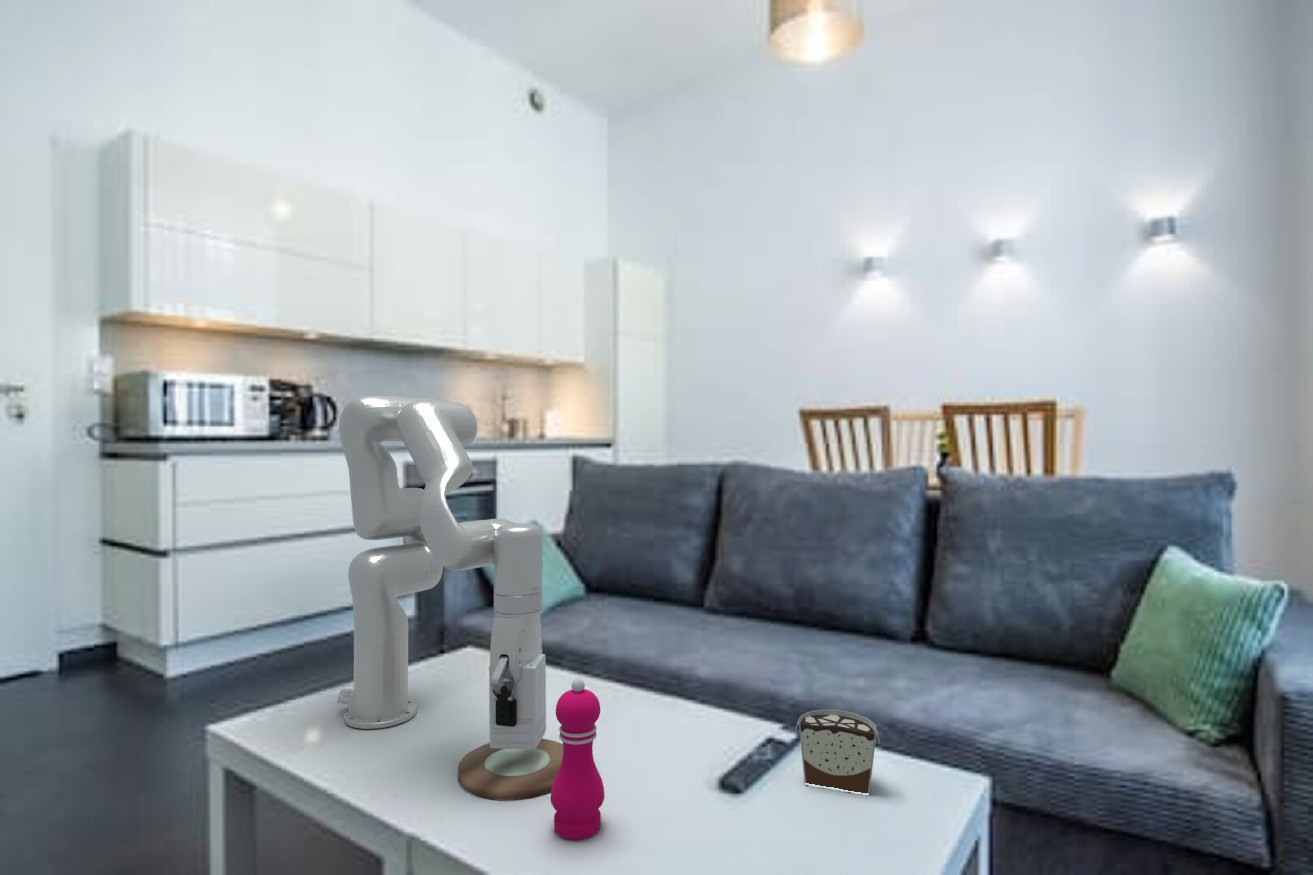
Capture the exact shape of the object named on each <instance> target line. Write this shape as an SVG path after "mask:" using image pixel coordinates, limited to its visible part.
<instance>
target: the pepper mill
mask: <svg viewBox="0 0 1313 875" xmlns="http://www.w3.org/2000/svg"><path fill="white" fill-rule="evenodd" d="M585 686H586V684H585V681H584V680H583V679H581V678H579V677H578V678H575V679H574V680H573V681H572V682H571V689H569V690H567V691H565V692H564V693H562V694H561V696H560V697H559V698H558V700H557V702H556V704H555V717H556V719H557V721H558V723H559V724H560V726H559V728H558V731H559V735H558V738H559V740H560V741H561V742H562V744H563V758H562V762H561V765H560V768H559V770H558V772H557V774H556V777H555V779H554V782H553V785H552V789H551V792H550V803H551V805H552V807H553V809H554V810H555V813H554V815H553V819H554V820H553V830H554V832H555V833H556V835H558V836H559V837H560V838H563V839H566V840H575V841H577V840H584V839H588V838H591V837H593V836H594V835H596V834H597V833H598V832H599V831H600V829H601V823H602V822H601V821H602V820H601V818H602V815H601V814H602V813H601V811H600V808H601V807H602V806H603V803H604V801H605V787H604V782H603V780H602V777H601V773H600V772H599V770H598V767H597V766H596V762H595V760H594V755H593V752H594V751H593V747H594V740H595V739H597V734H598V733H597V730H598V729H597V725H596V722H597V721H598V719H599V718H600V715H601V703H600V700H599V697H598V696H597V695H596V694H595V693H594V692H592V691H591V690H589V689H586V688H585Z"/></svg>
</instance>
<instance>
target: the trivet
mask: <svg viewBox="0 0 1313 875" xmlns="http://www.w3.org/2000/svg"><path fill="white" fill-rule="evenodd" d="M562 758H563V743H561V742H558V741H555V740H551V739H547V738H542V739H541V741H540V742H539V744H538V746H537V747H536V749H535V750H526V749H499V748H490V742H489V743H486V744H483V745H481V746H478V747H476V748H474V749H473V750H470V751H469V752H468V753H467V754H465V755H464V756H463V757H462V758H461V760H460V761H459V764H458V767H457V780H458V784H459V786H460V787H461V788H462V789H463V790H464V791H466V792H467V793H469V794H471V795H473V796H476V797H478V798H483V799H488V800H493V801H494V800H495V801H519V800H525V799H527V800H528V799H533V798H535V797H536V798H537V797H541V796H543V795H546V794H550V793H551V789H552V785H553V782H554V779H555V777H556V774H557V772H558V770H559V768H560V765H561V762H562Z"/></svg>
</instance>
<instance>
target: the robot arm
mask: <svg viewBox="0 0 1313 875" xmlns="http://www.w3.org/2000/svg"><path fill="white" fill-rule="evenodd" d="M477 433H478V421H477V418H476V416H475V414H474V412H473V410H472V409H471V408H469V406H468V405H466V404H464V403H462V402H459V401H458V402H457V401H446V400H440V399H433V398H427V397H425V398H423V397H411V396H397V395H395V396H394V395H382V394H381V395H380V394H378V395H376V394H375V395H362V396H358V397H355V398H353V399H351V400H350V401H348V402H347V403H346V405H345V406H344V407H343V409H342V411H341V414H340V417H339V421H338V434H339V440H340V442H339V443H340V444H341V448H342V452H343V454H344V458H345V461H346V464H347V469H348V476H349V489H350V491H349V492H350V503H351V512H352V514H351V515H352V522H353V527H354V531H355V533H356V535H357V536H358V537H359V538H361V539H363V540H366V541H380V540H383V541H384V540H390V539H399V538H404V540H405V543H403V544H395V545H387V546H380V547H374V548H370V549H367V550H364V551H361V552H360V553H358V554H357V555H355V557H354V558H352V560H351V561H350V563H349V566H348V573H347V574H348V578H347V579H348V584H349V589H350V594H351V598H352V607H353V608H352V609H353V610H352V611H353V689H349V688H348V689H347V688H343V689H341V690H340V691H339V696H338V697H337V700H336V702H337V704H339V705H340V704H341V705H346V704H347V706H348V709H347V710H346V711H345V713H344V716H343V717H344V723H345V724H346V725H347V726H349V727H351V728H356V729H361V730H362V729H363V730H375V729H376V730H377V729H384V728H389V727H393V726H397V725H400V724H403V723H405V722H407V721H409V720H411V719H412V718H413V717H414V716H415V715H416V714H417V709H418V708H417V704H416V703H415V702H414V701H412V700H410V699H408V698H409V617H408V615H407V614H406V611H405V610H404V608H403V607H402V606H401V604H400V603H399V601H398V597H401V596H404V595H409V594H414V593H419V592H423V591H426V590H430V589H433V588H434V587H436V586H437V585H438V584H439V582H440V580H441V579H442V576H443V567H444V569H447V570H449V571H452V572H453V571H454V572H460V571H467V570H471V569H472V570H473V569H477V568H482V567H490V566H491V567H492V566H493V614H494V616H493V621H492V622H493V623H492V628H491V638H490V650H489V667H490V668H489V667H488V675H489V676H490V679H491V681H490V682H491V685H492V688H493V693H494V699H495V700H496V725H499V726H509V727H514V726H515V725H516V724H517V699H514V696H515V692H516V687H517V682H519V681H520V680H521V677H522V669H523V667H524V666H525V665H527V664H528V663H530V662H531V661H532V660H534V659H535V658H536V657H537V656H539V655H540V654H543V644H542V643H543V642H542V640H543V638H542V636H543V635H542V634H543V633H542V622H541V621H542V620H541V614H542V613H543V608H544V606H543V603H544V602H543V599H544V598H543V597H544V596H543V549H544V548H543V539H544V538H543V531H542V528H541V527H539V526H538V525H537V524H534V523H523V522H522V523H519V522H518V523H517V522H515V521H512V520H509V519H506V518H490V519H479V520H469V521H462V522H458V521H457V519H456V518H455V516H454V514H453V513H452V511H451V508H450V506H449V504H448V501H447V497H446V496H447V495H448V494H449V493H451V492H454V491H455V490H457V489H458V488H459V487H461V486H462V485H464V484H465V482H466V481H468V479H469V478H470V476H471V475H472V473H473V471H474V470H473V469H474V466H473V465H474V464H473V462H472V460H471V458H470V456H469V455H468V453H467V451H466V449H465V448H464V447H467V446H469V445H471V444H472V443H473V442H474V441H475V439H476V436H477ZM382 442H403V444H404V445H405V447H406V449H407V451H408V454H409V455H410V458H411V459H412V462H413V464H414V465H415V467H416V469H417V470H418V472H419V474H420V476H421V478H422V480H423V482H424V484H425V486H424V489H423V488H419V487H400V486H399V480H398V467H397V465H396V464H397V463H396V462H395V460H394V458H393V456H392V455H391V454H390V452H389V451H388V449H387V448H386V447H385V446H384V445H383V444H382ZM508 667H509V670H510V672H511V674H513V678H504V676H505V673H506V671H507V669H508ZM489 676H488V677H489ZM504 683H509V684H511V685H510V690H508V689H507V687H506V686H504V685H503V684H504Z"/></svg>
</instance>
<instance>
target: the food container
mask: <svg viewBox="0 0 1313 875" xmlns="http://www.w3.org/2000/svg"><path fill="white" fill-rule="evenodd" d="M798 730H799V731H798ZM796 732H799V740H800V748H801V749H800V750H801V760H802V768H803V769H802V770H803V779H804V784H805V783H809V784H815V785H820V786H826V787H834V788H839V789H843V790H848V791H854V792H861V793H868V794H869V795H870V792H871V786H872V785H871V782H872V776H873V766H874V758H875V757H874V756H875V749H876V743H877V742H876V741H877V740H878V744H881V740H880V736H879V731H878V729H877V726H876V724H875V723H874V722H873V721H872V720H870V719H869V718H868V717H865V716H863V715H860V714H858V713H854V712H849V711H847V710H846V711H845V710H840V709H839V710H838V709H818V710H812V711H808V712H805V713H803V714H801V715H800V717H798V720H797V721H796V726H795V733H796Z"/></svg>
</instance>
